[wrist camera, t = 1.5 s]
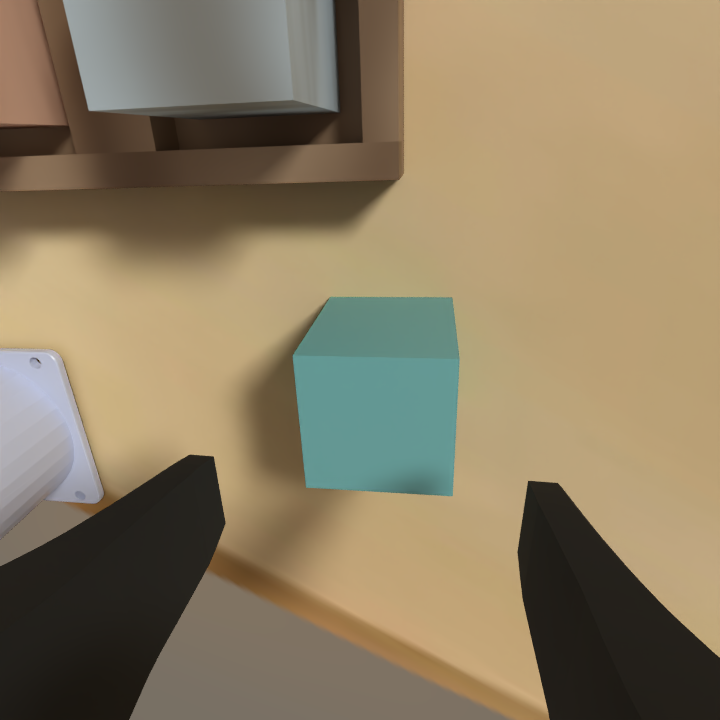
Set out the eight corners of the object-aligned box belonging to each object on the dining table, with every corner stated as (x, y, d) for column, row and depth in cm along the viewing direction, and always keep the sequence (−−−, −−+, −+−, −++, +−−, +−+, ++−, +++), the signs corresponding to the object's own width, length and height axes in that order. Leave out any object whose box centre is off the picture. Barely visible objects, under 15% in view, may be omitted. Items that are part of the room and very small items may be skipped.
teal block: (337, 401, 20) (305, 487, 15) (330, 296, 18) (292, 355, 13) (447, 405, 20) (452, 496, 15) (452, 296, 18) (459, 359, 13)
